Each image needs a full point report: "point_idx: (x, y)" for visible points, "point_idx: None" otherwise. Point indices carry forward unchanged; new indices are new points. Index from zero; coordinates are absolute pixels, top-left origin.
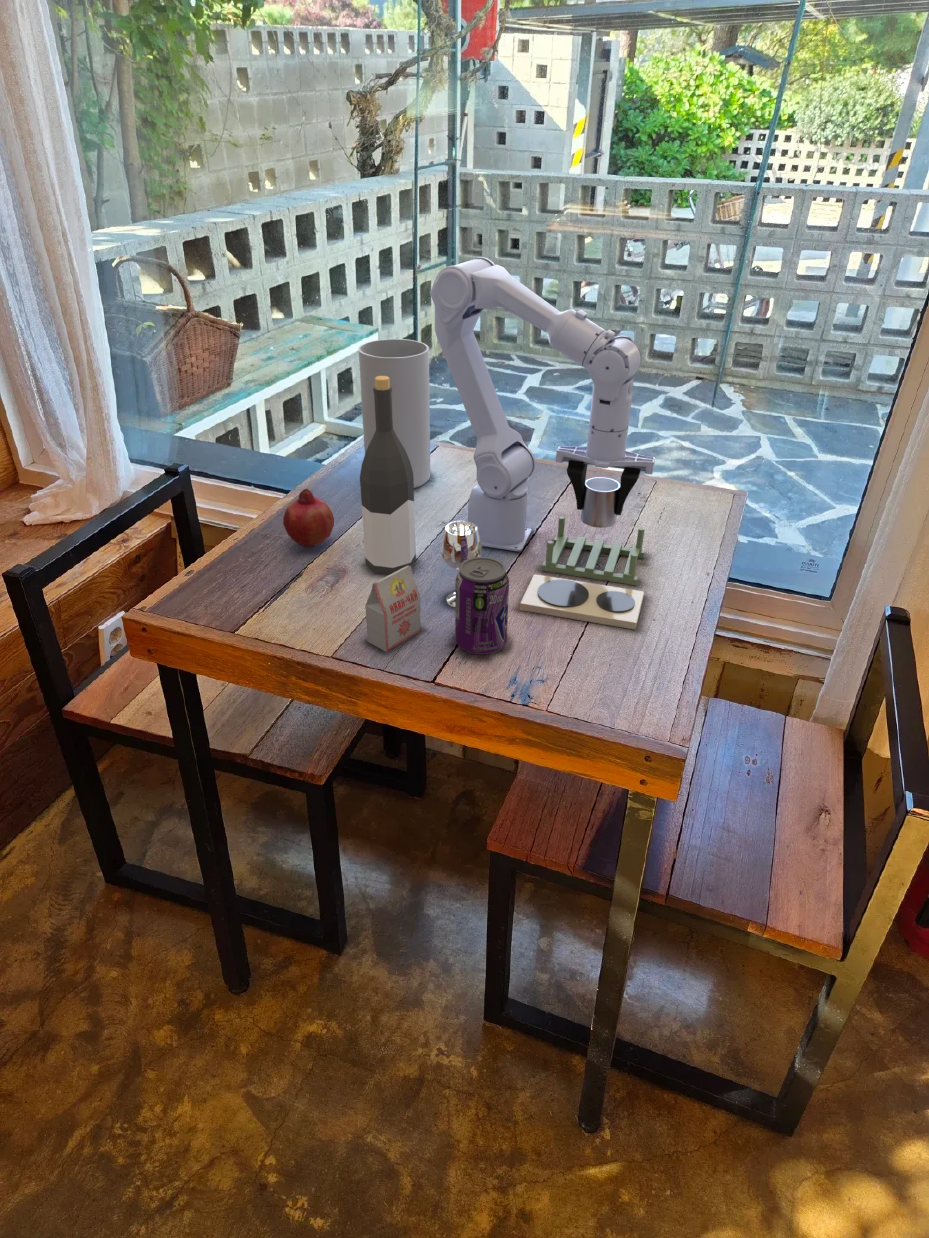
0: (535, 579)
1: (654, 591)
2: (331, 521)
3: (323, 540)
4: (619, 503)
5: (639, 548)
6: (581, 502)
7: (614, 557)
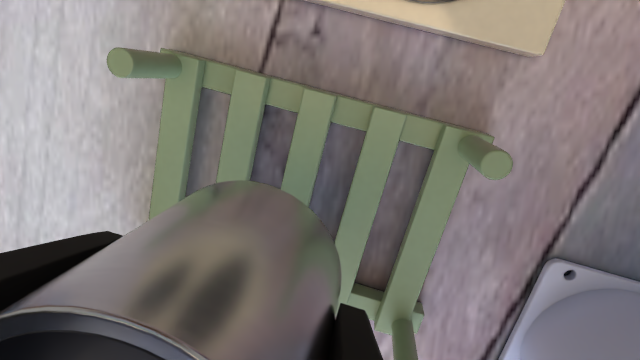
0: (545, 7)
1: (117, 16)
2: None
3: None
4: (40, 259)
5: None
6: (339, 331)
7: (226, 178)
